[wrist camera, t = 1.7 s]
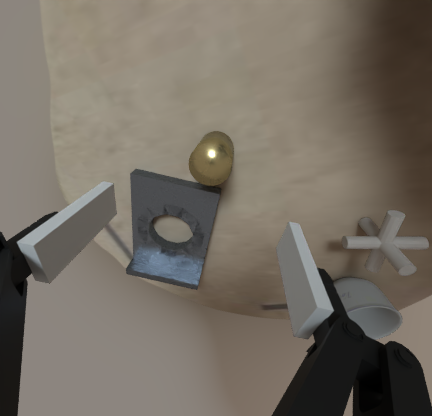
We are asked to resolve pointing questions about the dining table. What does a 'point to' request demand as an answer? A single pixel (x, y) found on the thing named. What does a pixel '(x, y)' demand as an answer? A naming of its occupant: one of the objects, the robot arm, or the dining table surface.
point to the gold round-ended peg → (212, 159)
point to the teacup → (368, 307)
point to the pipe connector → (386, 243)
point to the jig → (176, 206)
